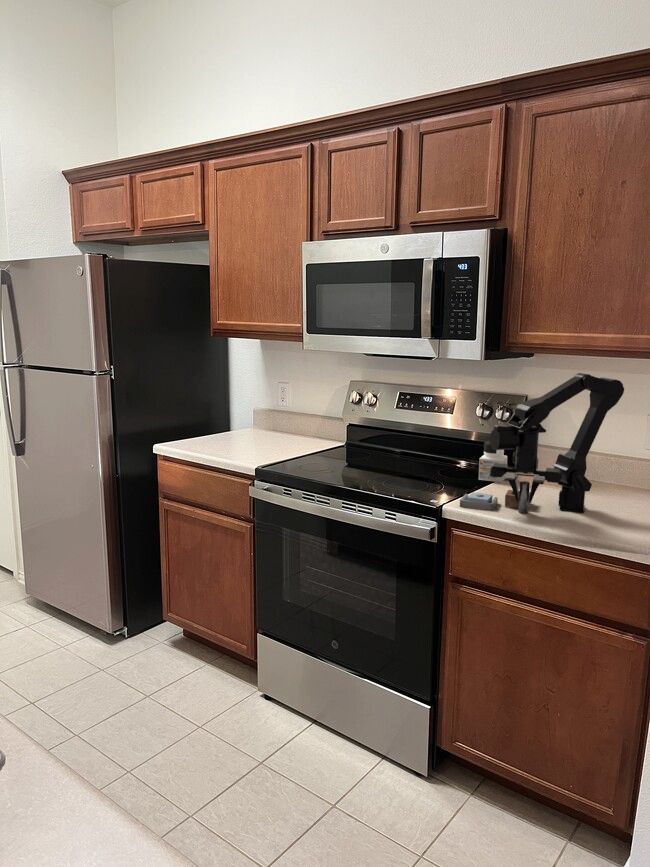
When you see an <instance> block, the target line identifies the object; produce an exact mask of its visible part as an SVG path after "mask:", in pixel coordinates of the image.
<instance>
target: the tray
mask: <svg viewBox="0 0 650 867" xmlns="http://www.w3.org/2000/svg"><path fill="white" fill-rule="evenodd" d="M468 496H469V494H468V493H465V494H463V496H462V497H461V498H460V499H459V507H461V506H463V507H462V508H469V507H470V508H471V509H478V508H480V510H486V509H488V510H487V511H489V510H490V511H494V510H495V508H496V506H497V505H498V503H499V502H498V501H499V500H498V499H499V498H498V497H497V496H494V497H493V498H492V502H491V503H485V502H476V501H467V497H468ZM493 509H494V510H493Z"/></svg>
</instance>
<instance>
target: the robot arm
mask: <svg viewBox="0 0 650 867" xmlns="http://www.w3.org/2000/svg"><path fill="white" fill-rule="evenodd" d="M585 390H587V391H589V408H588V409H587V411H586V414H585V416H584V418H583V420H582V421H581V425H580V426H579V429H578V431H577V432H576V435H575V437H574V439H573V442H572V444H571V446H570V448H569V450H568V451H567V452H566V453H565V454H562V453H559V454H558V455H557V459H556V461H555V463H553V465H552V467H546V469H545V470H538V468H539V458H538V450H539V436H540V435H539V433H547V430H546V429H545V427H544V426H543V425H542V424H541V423H542V422H543V421H544V420H546V419H548V417H549V415H550V414H551V412H552V411H553V410H554V409H556V408H558V407H559V406H560V405H562V404H564V403H566V402H567V401H568V400H570V399H572V398H573V397H576V396H577V395H578V394H580V393H582V392H583V391H585ZM624 392H625V387H624V384H623V382H622V381H621V380H619V379H614V378H610V377H609V378H608V377H596V376H594V375H591V374H589V373H583V372H582V373H581V372H579V373H576V374H574V376H573V377H571V378H570V379H568V380H566V381H564V382H563V383H561V384H560V385H558V386H557V387H555V388H553V389H552V390H550V391H548V392H547V393H544V394H543V395H542V396H539V397H536V398H535V397H534V398H531V399H528V400H525V401H523V402H521V403H519V404H518V405H517V406H516V407H515V411H514V413H513V414H512V416H511V417H510V418H509V420H508V421H507V423H506V425H501V424H494V425H493V429H492V430H491V432H490V435H489V440H488V441H490V446H491V448H492V449H493V450H504V451H505V450H516V451H513V454H512V463H513V464H514V465H515V466H514V467H508V463H507V464H499V463H495V464H494V465H493V466H492V467H491V469H490V476H492V477H502V476H503V475H504V474H506V478H505V479H504V480H505V481H506V482H508V483H509V485H510V487H511V490H513V492H514V495H515V498H516V501H517V502H518V501H519V491H520V488H519V476H521V477H533V480H532V482H531V489H530V491H529V492H530V498H529V503H530V504H531V503H532V501H533V499H534V497H535V493H536V491H537V489H538V488H539V486H540V485H544V484H545V482H548V483H555V484H557V485H558V486H561V490H559V493H558V507H559V510H560V511H567V512H568V511H569V512H577V513H584V512H585V506H586V504H585V502H586V501H585V500H586V499H585V498H586V492H590V491H591V489H592V485H593V484H592V483H591V482H590V480H589V479H588V478H587V477H586V472H587V457H588V454H589V451H591V448H592V446H593V444H594V441H595V439H596V438H597V435H598V433H599V430H600V428H601V426H602V425H603V421H604V420H605V418H606V416H607V414H608V412H609V411H610V410H611V409H613V407H615V406H616V405H617V404H618V403H619V402H620V400H621V398H622V397H623V395H624Z"/></svg>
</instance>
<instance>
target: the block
mask: <svg viewBox="0 0 650 867" xmlns="http://www.w3.org/2000/svg"><path fill="white" fill-rule="evenodd" d="M467 501H476V502H485V503H491V502H492V501H493V494H489V493H482V492H481V493H480V492H475V491H474V492H471V493H470V494H468V497H467Z"/></svg>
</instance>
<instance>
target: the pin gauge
mask: <svg viewBox="0 0 650 867" xmlns="http://www.w3.org/2000/svg"><path fill="white" fill-rule="evenodd" d="M530 484H531V483H530V481H529V480H520V481H519V491H520V493H519V508H518V513H519V514H521V515H528V514H529V507H528V504H529V492H530Z"/></svg>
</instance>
